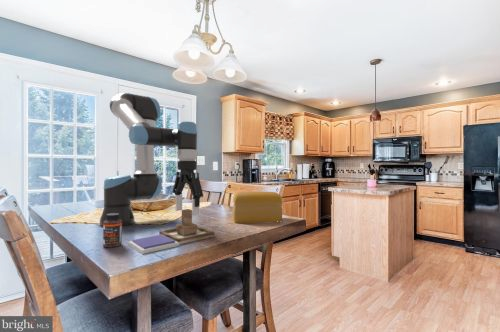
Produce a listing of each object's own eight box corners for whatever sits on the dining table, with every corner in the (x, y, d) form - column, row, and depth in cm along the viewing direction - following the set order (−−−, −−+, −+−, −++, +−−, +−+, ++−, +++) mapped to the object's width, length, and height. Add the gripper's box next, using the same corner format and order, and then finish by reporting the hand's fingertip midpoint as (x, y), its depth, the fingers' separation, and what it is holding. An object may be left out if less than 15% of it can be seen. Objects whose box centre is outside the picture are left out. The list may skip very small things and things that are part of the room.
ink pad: (128, 244, 94) (128, 239, 94) (163, 238, 103) (163, 233, 103) (142, 254, 85) (142, 248, 85) (178, 245, 94) (178, 240, 94)
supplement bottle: (101, 249, 90) (102, 216, 89) (103, 244, 95) (104, 213, 95) (121, 246, 92) (121, 214, 92) (122, 242, 97) (122, 211, 97)
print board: (159, 235, 107) (159, 231, 107) (193, 229, 118) (193, 225, 118) (178, 244, 95) (178, 239, 95) (214, 236, 106) (214, 231, 106)
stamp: (176, 233, 107) (176, 209, 106) (189, 231, 111) (189, 208, 111) (183, 236, 102) (183, 211, 102) (197, 234, 106) (197, 210, 106)
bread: (234, 223, 129) (234, 193, 129) (232, 218, 142) (233, 190, 142) (282, 222, 133) (282, 193, 132) (276, 217, 145) (276, 190, 145)
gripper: (164, 160, 113) (164, 209, 113) (195, 159, 94) (195, 218, 95) (180, 160, 118) (180, 207, 118) (212, 160, 100) (212, 215, 100)
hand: (186, 212), depth 106 cm, fingers open, 13 cm apart
